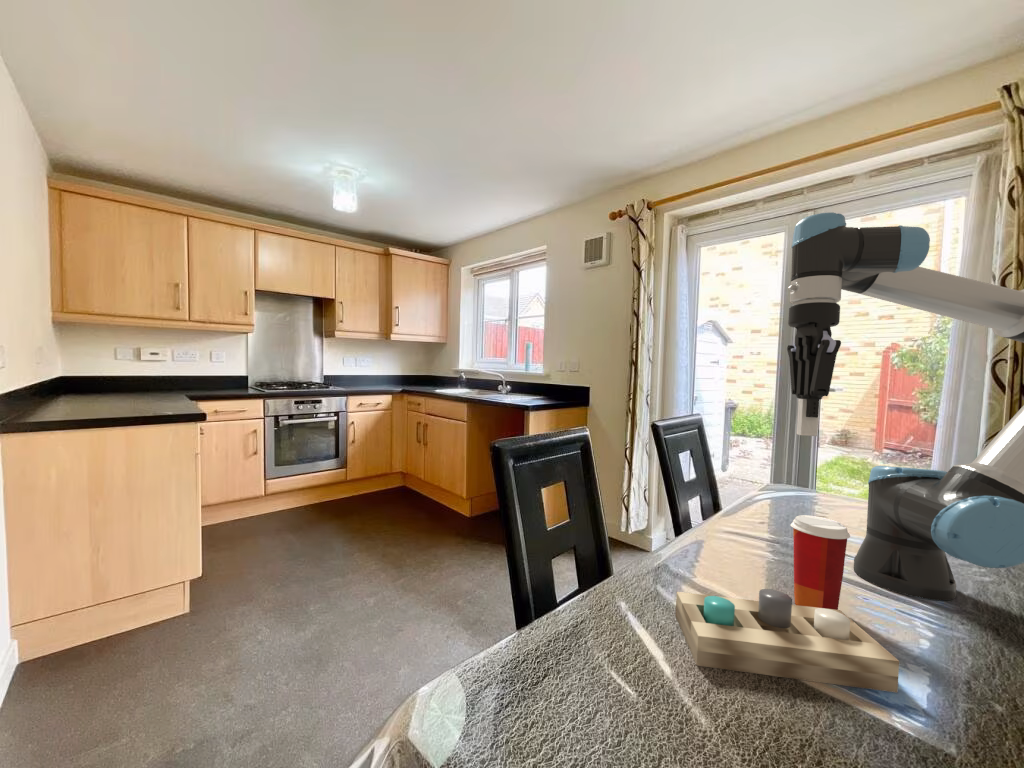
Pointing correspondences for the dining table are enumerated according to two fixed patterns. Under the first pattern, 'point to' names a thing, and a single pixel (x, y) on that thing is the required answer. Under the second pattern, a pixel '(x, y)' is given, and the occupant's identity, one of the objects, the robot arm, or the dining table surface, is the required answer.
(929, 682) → the dining table surface
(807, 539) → the coffee cup
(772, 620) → the gray button
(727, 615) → the teal button
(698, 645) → the wooden button tray
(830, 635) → the white rounded cylinder
